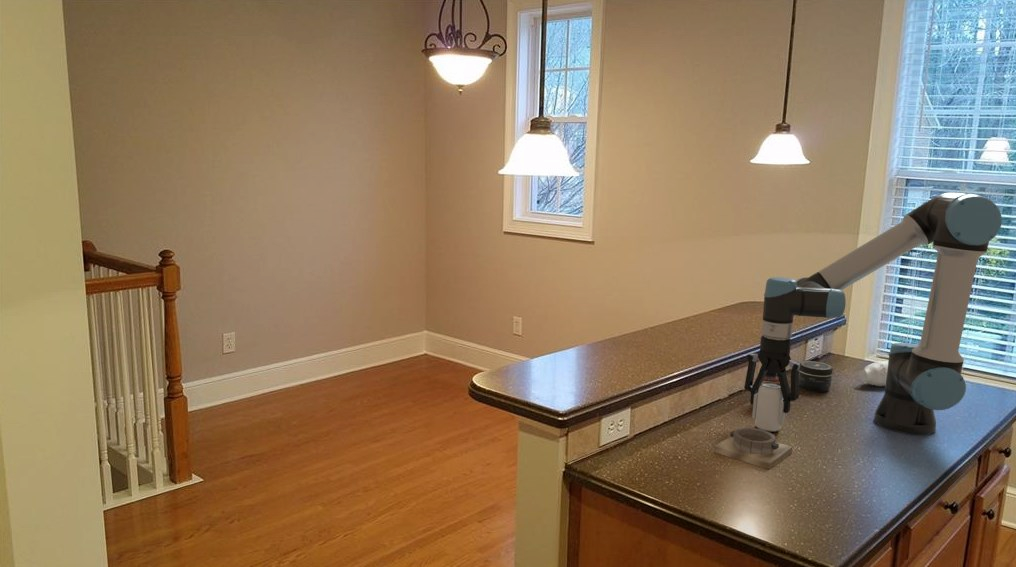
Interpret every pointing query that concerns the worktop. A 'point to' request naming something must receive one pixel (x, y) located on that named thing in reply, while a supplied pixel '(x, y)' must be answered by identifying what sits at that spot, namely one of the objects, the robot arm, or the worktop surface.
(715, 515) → the worktop surface
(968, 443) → the worktop surface
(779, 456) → the grey ring holder base
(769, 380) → the supplement bottle
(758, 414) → the can
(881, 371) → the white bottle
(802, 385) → the jar
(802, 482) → the worktop surface
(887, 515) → the worktop surface
